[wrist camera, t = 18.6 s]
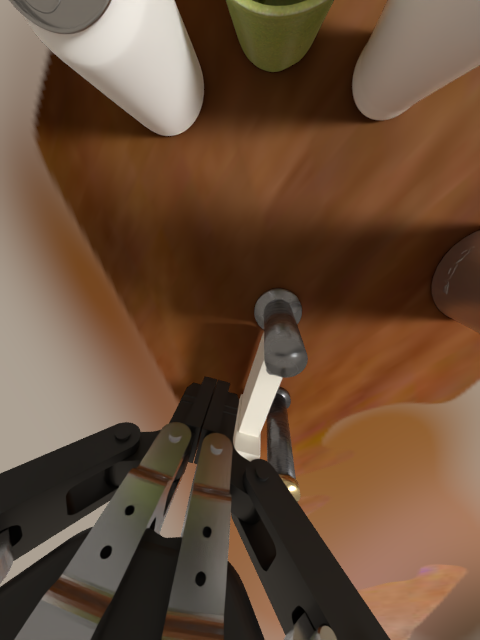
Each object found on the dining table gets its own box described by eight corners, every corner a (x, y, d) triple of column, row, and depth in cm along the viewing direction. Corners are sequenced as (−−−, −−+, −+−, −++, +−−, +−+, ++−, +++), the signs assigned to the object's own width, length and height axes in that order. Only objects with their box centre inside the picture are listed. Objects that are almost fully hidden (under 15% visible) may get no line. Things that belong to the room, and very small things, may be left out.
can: (114, 97, 20) (-64, -51, 9) (155, 11, 18) (-13, -317, 7) (176, 156, 21) (84, 88, 10) (221, 82, 19) (167, -102, 8)
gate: (261, 331, 25) (261, 373, 18) (283, 337, 25) (291, 382, 18) (237, 406, 29) (229, 464, 22) (256, 411, 29) (254, 470, 22)
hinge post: (307, 294, 25) (332, 336, 16) (293, 335, 27) (309, 395, 18) (260, 283, 25) (259, 320, 16) (250, 325, 27) (243, 380, 18)
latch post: (293, 390, 30) (311, 486, 19) (285, 411, 31) (297, 512, 21) (265, 383, 30) (266, 476, 19) (258, 405, 31) (256, 503, 21)
